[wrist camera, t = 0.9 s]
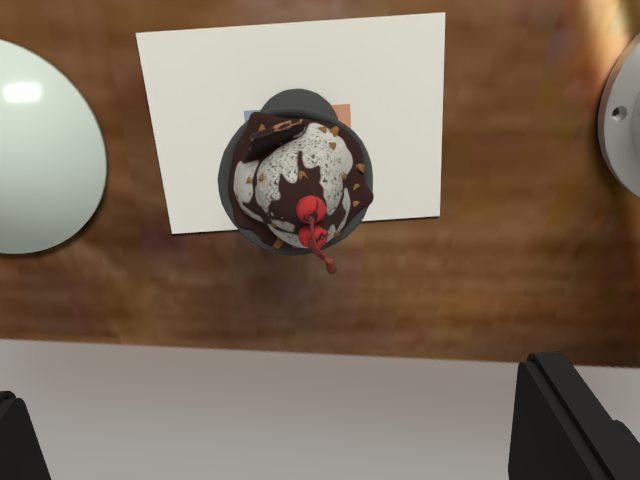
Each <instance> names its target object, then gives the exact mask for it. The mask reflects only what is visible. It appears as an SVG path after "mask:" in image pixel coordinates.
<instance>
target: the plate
mask: <svg viewBox="0 0 640 480" xmlns="http://www.w3.org/2000/svg"><path fill="white" fill-rule="evenodd" d="M107 175H108V155H107V149H106V143H105V139H104V136H103V132H102V129H101V127H100V124H99V122H98V120H97V117H96V115H95V113H94V111H93V110H92V108H91V106H90V105H89V103H88V101H87V100H86V98H85V97H84V96H83V94H82V93H81V92H80V90H79V89H78V88H77V87H76V86H75V85H74V83H73V82H72V81H71V80H70V79H69V78H68V77H67V76H66V75H65V74H64V73H63V72H61V71H60V70H59V69H58V68H57V67H56V66H54V65H53V64H52V63H50V62H49V61H47V60H46V59H44V58H43V57H42V56H40V55H38V54H36V53H34V52H33V51H31V50H29V49H27V48H25V47H23V46H20V45H18V44H15V43H13V42H10V41H7V40H3V39H0V253H7V254H23V253H31V252H37V251H41V250H44V249H48V248H50V247H53V246H55V245H58V244H60V243H62V242H63V241H65V240H67V239H68V238H70V237H71V236H73V235H74V234H75V233H76V232H78V231H79V230H80V229H81V228H82V227H83V226H84V225H85V223H86V222H87V221H88V220H89V219H90V218H91V217H92V215H93V214H94V212H95V211H96V209H97V208H98V206H99V203H100V201H101V199H102V197H103V194H104V190H105V187H106V182H107Z"/></svg>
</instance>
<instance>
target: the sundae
mask: <svg viewBox="0 0 640 480" xmlns="http://www.w3.org/2000/svg"><path fill="white" fill-rule="evenodd" d="M217 180H218V189H219V195H220V199H221V203H222V206H223V208H224V210H225V212H226V214H227V215H228V217H229V218H230V220H231V221H232V223H233V224H234V225H235V226H236V228H237V229H238V230H239V231H240V232H241V233H242V234H243V235H244V236H245V237H246V238H248V239H249V240H250V241H251V242H253V243H255V244H256V245H258V246H259V247H261V248H262V249H265V250H268V251H271V252H274V253H278V254H283V255H289V256H292V255H305V254H309V253H314V254H315V255H317V256H318V257H319V258H321V259H323V260H324V261H325V262H326V263H327V264H326V266H327V271H328V272H329V273H330V274H334V273H335V272H336V271H337V269H336V266H335V263H334V260H333V259H332V258H329V257H328V256H326V255H325V254H324V253H323V252H322V251H321V250H323V249H325V248H328V247H330V246H332V245H334V244H336V243H337V242H339V241H341V240H342V239H344V238H345V237H347V236H348V235H349V234H350V233H351V232H352V231H353V230H354V229H355V228H356V227H357V226H358V225H359V223H360V222H361V221H362V220H363V218H364V216H365V214H366V211H367V209H368V207H369V205H370V204H371V203H372V202H373V198H374V195H373V172H372V163H371V160H370V157H369V154H368V151H367V149H366V147H365V145H364V144H363V142H362V140H361V139H360V138H359V137H358V135H357V134H356V133H355V132H354V131H353V130H352V129H351V128H349V127H348V126H347V125H345V124H344V123H342V122H341V121H339V120H338V117H337V115H336V113H335V111H334V109H333V107H332V106H331V104H330V103H329V102H328V101H327V100H326V99H324V98H323V97H322V96H320V95H319V94H318V93H315V92H312V91H310V90H306V89H289V90H284V91H282V92H280V93H278V94H276V95H274V96H273V97H271V98H270V99H269V100H268V101H267V102H266V103H265V105H264V106H263V107H262V109H261V110H260V112H253V113H251V115H250V117H249V120H248V121H246V122H245V123H244V124H243V125H242V126H241V127H240V128H239V129H238V130H237V132H236V133H235V134H234V136H233V137H232V138H231V140H230V142H229V143H228V145H227V147H226V148H225V150H224V153H223V156H222V159H221V163H220V167H219V173H218V179H217ZM318 252H319V253H320V254H319V253H318Z"/></svg>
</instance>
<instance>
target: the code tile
mask: <svg viewBox="0 0 640 480" xmlns="http://www.w3.org/2000/svg"><path fill="white" fill-rule="evenodd" d="M136 38H137V44H138V49H139V55H140V60H141V65H142V71H143V76H144V82H145V87H146V93H147V98H148V104H149V109H150V115H151V120H152V126H153V131H154V137H155V142H156V148H157V153H158V159H159V164H160V170H161V175H162V181H163V186H164V192H165V197H166V203H167V208H168V214H169V219H170V224H171V230H172V234H177V233H192V232H207V231H222V230H237V228H236V226H235V225H234V224H233V223H232V221H231V220H230V218H229V217H228V215H227V214H226V212H225V210H224V208H223V206H222V203H221V199H220V195H219V189H218V180H217V179H218V173H219V167H220V163H221V159H222V156H223V153H224V150H225V148H226V147H227V145H228V143H229V142H230V140H231V138H232V137H233V136H234V134H235V133H236V132H237V130H238V129H239V128H240V127H241V126H242V125H243V124H244V123H245V122H246V121H248V120H249V117H250V115H251V113H253V112H260V110H261V109H262V107H263V106H264V105H265V103H266V102H267V101H268V100H269V99H270V98H271V97H273V96H274V95H276V94H278V93H280V92H282V91H284V90H289V89H306V90H310V91H312V92H315V93H318V94H319V95H320V96H322V97H323V98H324V99H326V100H327V101H328V102H329V103H330V104H331V106H332V107H333V109H334V111H335V113H336V115H337V117H338V120H339V121H341V122H342V123H344V124H345V125H347V126H348V127H349V128H351V129H352V130H353V131H354V132H355V133H356V134H357V135H358V137H359V138H360V139H361V140H362V142H363V144H364V145H365V147H366V149H367V151H368V154H369V157H370V160H371V163H372V172H373V195H374V198H373V202H372V203H371V204H370V205H369V207H368V209H367V211H366V214H365V216H364V218H363V220H362V221H371V220H386V219H401V218H416V217H431V216H440V186H441V150H442V113H443V76H444V39H445V12H442V13H428V14H413V15H398V16H383V17H368V18H353V19H338V20H323V21H308V22H293V23H278V24H263V25H248V26H233V27H218V28H203V29H188V30H173V31H158V32H143V33H136Z"/></svg>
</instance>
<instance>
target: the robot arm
mask: <svg viewBox="0 0 640 480" xmlns="http://www.w3.org/2000/svg"><path fill="white" fill-rule="evenodd" d="M615 108H616V111H615V113H614V114H612V113H613V110H614V109H615ZM598 139H599V144H600V148H601V153H602V156H603V158H604V160H605V162H606V164H607V167H608V169H609V170H610V172H611V173H612V174H613V176H614V177H615V178H616V179H617V181H618V182H619V183H620V184H621V185H623V186H624V187H625V188H626V189H628V190H629V191H630V192H632V193H633V194H635V195H636V196H638V197H640V33H639V34H637V35H636V37H635V38H634V39H633V40H632V42H631V43H630V44H629V45H628V47H627V48H626V49H625V50H624V52H623V53H622V54H621V56H620V57H619V59H618V61H617V63H616V64H615V66H614V68H613V70H612V72H611V73H610V75H609V78H608V80H607V83H606V86H605V88H604V91H603V94H602V97H601V102H600V108H599V113H598ZM508 474H509V480H640V443H639V442H638V441H637V439H636V438H635V437H634V435H633V434H632V433H631V431H630V430H629V429H628V428H627V427H626V426H625V425H624V424H623V423H622V422H620V421H618V420H612V419H611V417H610V416H609V415H608V413H607V412H606V411H605V409H604V408H603V406H602V405H601V403H600V402H599V401H598V399H597V398H596V397H595V395H594V394H593V392H592V391H591V390H590V389H589V387H588V386H587V384H586V383H585V382H584V380H583V379H582V377H581V376H580V375H579V373H578V372H577V371H576V369H575V368H574V366H573V365H572V364H571V362H570V361H569V360H568V358H567V357H566V355H565V354H564V353H563V352H560V351H558V352H544V353H531V354H529V356H528V358H527V362H520V363H519V366H518V373H517V384H516V393H515V403H514V414H513V423H512V434H511V443H510V453H509V464H508ZM0 480H51V477H50V474H49V472H48V469H47V466H46V463H45V460H44V457H43V454H42V451H41V449H40V446H39V442H38V440H37V437H36V434H35V431H34V428H33V425H32V422H31V419H30V416H29V413H28V410H27V407H26V405H25V402H24V401H23V400H22V399H21V398H16V396H15V394H13V393H12V392H11V391H0Z"/></svg>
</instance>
